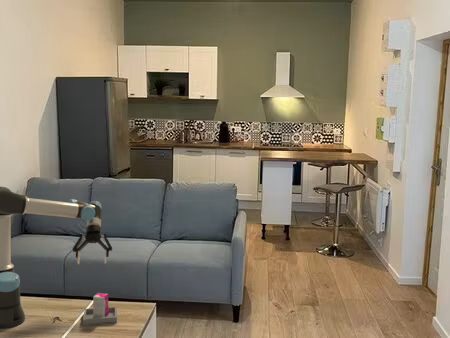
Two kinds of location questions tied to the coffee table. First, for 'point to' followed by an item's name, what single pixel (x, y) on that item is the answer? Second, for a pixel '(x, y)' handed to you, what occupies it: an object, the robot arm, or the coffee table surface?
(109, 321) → the tray
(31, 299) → the coffee table surface
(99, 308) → the supplement box
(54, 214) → the robot arm
